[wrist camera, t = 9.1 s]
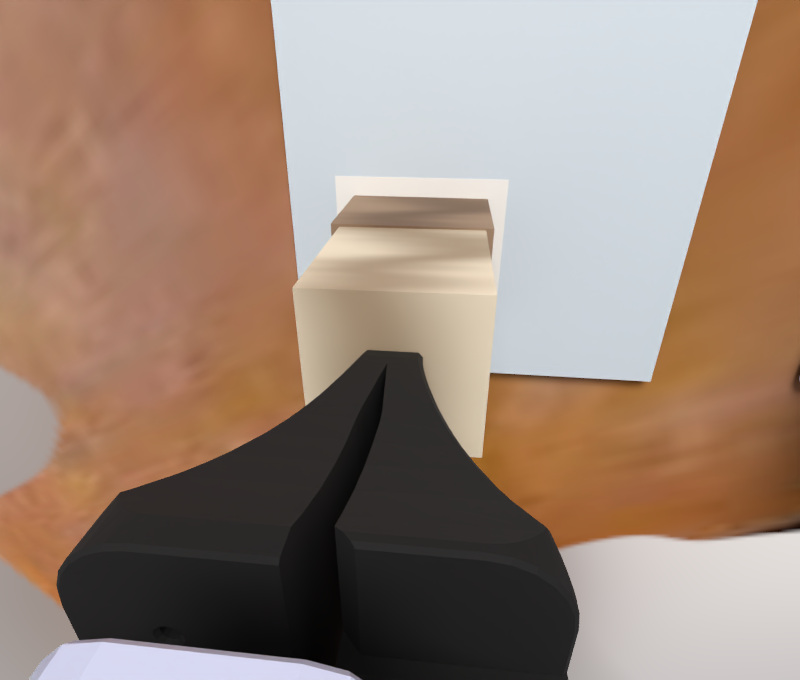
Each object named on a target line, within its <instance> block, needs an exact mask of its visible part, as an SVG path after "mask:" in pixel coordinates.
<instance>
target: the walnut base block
mask: <svg viewBox="0 0 800 680" xmlns="http://www.w3.org/2000/svg"><path fill="white" fill-rule="evenodd" d="M339 227H372V228H411V229H450V230H486V232H487V238H488V244H489V250H490V256H491V260H492V249H493V239H494V225H493V220H492V216H491V211H490V207H489V202H488V199H470V198H433V197H396V196H359V195H354V196H353V197H352V199H351V200H350V201H349V202H348V203H347V205H346V206H345V207H344V208H343V209H342V211H341V212H340V213H339V214H338V215H337V217H336V218H335V219H334V220H333V221H332V223H331V237H332V235H333V234H334V233H335V231H336V230H337V229H338V228H339Z"/></svg>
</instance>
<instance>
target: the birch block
mask: <svg viewBox="0 0 800 680" xmlns="http://www.w3.org/2000/svg"><path fill="white" fill-rule="evenodd" d="M292 289H293V298H294V307H295V316H296V325H297V334H298V343H299V352H300V361H301V370H302V379H303V388H304V397H305V406H306V405H307V404H309V403H310V402H311V401H312V400H314V399H315V398H316V397H317V396H319V395H320V394H321V393H322V392H323V391H324V390H326V389H327V388H328V387H329V386H330V385H331V384H332V383H333V382H334V381H335V380H336V379H338V378H339V377H340V376H341V375H342V374H343V373H344V372H345V371H346V370H347V369H348V368H349V367H350V366H351V365H352V364H353V363H354V362H355V361H356V360H357V359H358V358H359V357H360V356H361V355H362V354H363V353H364V352H365V351H367V350H380V351H398V352H417V353H419V354H420V355H421V356H422V357H423V368H424V372H425V376H426V379H427V382H428V385H429V388H430V390H431V393H432V395H433V397H434V400H435V402H436V404H437V406H438V408H439V410H440V412H441V414H442V416H443V418H444V419H445V421H446V423H447V425H448V426H449V428H450V430H451V431H452V433H453V435H454V436H455V438H456V439H457V440H458V442H459V443H460V445H461V446H462V448H463V449H464V450H465V452H466V453H467V454H468V455H469V457H478V458H482V451H483V440H484V430H485V419H486V409H487V398H488V388H489V377H490V367H491V357H492V346H493V336H494V325H495V315H496V304H497V291H496V285H495V279H494V273H493V267H492V261H491V256H490V250H489V244H488V238H487V232H486V230H450V229H411V228H372V227H339V228H338V229H337V230H336V231H335V233H334V234H333V235H332V237H331V238H330V239H329V241H328V242H327V243H326V245H325V246H324V247H323V248H322V250H321V251H320V252H319V254H318V255H317V256H316V258H315V259H314V260H313V261H312V263H311V264H310V265H309V267H308V268H307V269H306V271H305V272H304V273H303V275H302V276H301V277H300V278H299V280H298V281H297V282H296V284H295V285H294V286H293V288H292Z"/></svg>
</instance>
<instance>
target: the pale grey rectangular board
mask: <svg viewBox="0 0 800 680" xmlns="http://www.w3.org/2000/svg"><path fill="white" fill-rule="evenodd" d="M757 1H758V0H271V6H272V16H273V26H274V36H275V47H276V57H277V67H278V77H279V87H280V98H281V108H282V118H283V128H284V138H285V148H286V159H287V169H288V179H289V189H290V199H291V210H292V220H293V230H294V240H295V250H296V261H297V271H298V280H299V278H300V277H301V276H302V275H303V273H304V272H305V271H306V269H307V268H308V267H309V265H310V264H311V263H312V261H313V260H314V259H315V258H316V256H317V255H318V254H319V252H320V251H321V250H322V248H323V247H324V246H325V245H326V243H327V242H328V241H329V239H330V238H331V223H332V221H333V220H334V219H335V218H336V217H337V215H338V214H339V213H340V212H341V211H342V209H343V208H344V207H345V206H346V205H347V203H348V202H349V201H350V200H351V199H352V197H353V196H354V195H359V196H396V197H433V198H470V199H488V202H489V207H490V211H491V216H492V220H493V225H494V239H493V249H492V260H491V261H492V267H493V273H494V279H495V285H496V291H497V304H496V315H495V325H494V336H493V346H492V357H491V367H490V373H505V374H523V375H541V376H559V377H577V378H595V379H613V380H630V381H648V382H650V381H651V378H652V374H653V371H654V367H655V364H656V360H657V356H658V353H659V349H660V346H661V342H662V339H663V335H664V332H665V328H666V324H667V321H668V317H669V314H670V310H671V307H672V303H673V300H674V296H675V292H676V289H677V285H678V282H679V278H680V275H681V271H682V268H683V264H684V260H685V257H686V253H687V250H688V246H689V243H690V239H691V236H692V232H693V228H694V225H695V221H696V218H697V214H698V211H699V207H700V204H701V200H702V196H703V193H704V189H705V186H706V182H707V179H708V175H709V172H710V168H711V164H712V161H713V157H714V154H715V150H716V147H717V143H718V140H719V136H720V132H721V129H722V125H723V122H724V118H725V115H726V111H727V108H728V104H729V100H730V97H731V93H732V90H733V86H734V83H735V79H736V76H737V72H738V68H739V65H740V61H741V58H742V54H743V51H744V47H745V44H746V40H747V36H748V33H749V29H750V26H751V22H752V19H753V15H754V12H755V8H756V4H757Z"/></svg>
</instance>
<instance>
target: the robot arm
mask: <svg viewBox="0 0 800 680" xmlns="http://www.w3.org/2000/svg"><path fill="white" fill-rule="evenodd" d="M799 381H800V377H799ZM57 589H58V593H59V596H60V599H61V603H62V606H63V608H64V610H65V612H66V614H67V616H68V618H69V620H70V622H71V624H72V626H73V628H74V630H75V632H76V634H77V636H78V638H79V640H75V641H72V642H68V643H65V644H62V645H61V646H59V648H57V649H56V650H54V651H53V652H52V653H51V654H49V655H48V656H47V657H46V658H44V659H43V660H42V661H41V662H40V664H39V665H38V667H37V668H36V670H35V671H34V673H33V674H32V675H31V677H30V678H29V679H28V680H568V677H567V670H568V666H569V663H570V659H571V656H572V652H573V648H574V645H575V641H576V637H577V634H578V630H579V610H578V605H577V600H576V596H575V593H574V589H573V586H572V584H571V581H570V578H569V575H568V572H567V570H566V567H565V565H564V562H563V560H562V557H561V555H560V553H559V550H558V548H557V546H556V544H555V542H554V539H553V537H552V535H551V533H550V531H549V530H548V529H547V528H546V527H545V526H544V525H542V524H541V523H540V522H539V521H537V520H536V519H535V518H533V517H532V516H531V515H529V514H528V513H527V512H525V511H524V510H523V509H522V508H520V507H519V506H518V505H516V504H515V503H514V502H512V501H511V500H510V499H509V498H508V497H507V496H506V495H505V494H503V493H502V492H501V491H500V490H499V489H498V488H497V487H496V486H495V485H494V484H493V483H492V482H491V480H490V479H489V478H488V477H487V476H486V475H485V474H484V473H483V472H482V471H481V470H480V469H479V467H478V466H477V465H476V464H475V463H474V462H473V461H472V459H471V458H470V457H469V455H468V454H467V453H466V452H465V450H464V449H463V448H462V446H461V445H460V443H459V442H458V440H457V439H456V438H455V436H454V435H453V433H452V431H451V430H450V428H449V426H448V425H447V423H446V421H445V419H444V418H443V416H442V414H441V412H440V410H439V408H438V406H437V404H436V402H435V400H434V397H433V395H432V393H431V390H430V388H429V385H428V382H427V379H426V376H425V372H424V368H423V357H422V356H421V355H420V354H419V353H417V352H398V351H380V350H367V351H365V352H364V353H363V354H362V355H361V356H360V357H359V358H358V359H357V360H356V361H355V362H354V363H353V364H352V365H351V366H350V367H349V368H348V369H347V370H346V371H345V372H344V373H343V374H342V375H341V376H340V377H339V378H338V379H336V380H335V381H334V382H333V383H332V384H331V385H330V386H329V387H328V388H327V389H326V390H324V391H323V392H322V393H321V394H320V395H319V396H317V397H316V398H315V399H314V400H312V401H311V402H310V403H309V404H307V405H306V406H305V407H304V408H302V409H301V410H300V411H298V412H297V413H296V414H294V415H293V416H291V417H290V418H288V419H287V420H285V421H284V422H282V423H281V424H279V425H278V426H276V427H274V428H273V429H271V430H270V431H268V432H266V433H265V434H263V435H261V436H259V437H257V438H255V439H253V440H251V441H250V442H248V443H246V444H244V445H242V446H240V447H238V448H236V449H234V450H232V451H231V452H228V453H226V454H224V455H222V456H220V457H217V458H215V459H213V460H211V461H208V462H206V463H204V464H201V465H199V466H196V467H194V468H191V469H189V470H186V471H184V472H181V473H178V474H176V475H173V476H170V477H167V478H164V479H161V480H158V481H155V482H152V483H149V484H146V485H143V486H140V487H137V488H134V489H130V490H127V491H123V492H120V493H119V494H118V496H117V497H116V498H115V499H114V500H113V501H112V502H111V504H110V505H109V506H108V507H107V508H106V509H105V511H104V512H103V513H102V514H101V515H100V517H99V518H98V519H97V520H96V522H95V523H94V524H93V525H92V527H91V528H90V529H89V531H88V532H87V533H86V534H85V536H84V537H83V538H82V539H81V541H80V542H79V543H78V544H77V546H76V547H75V548H74V549H73V551H72V552H71V553H70V554H69V556H68V557H67V558H66V560H65V561H64V563H63V564H62V566H61V567H60V569H59V570H58V577H57Z"/></svg>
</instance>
